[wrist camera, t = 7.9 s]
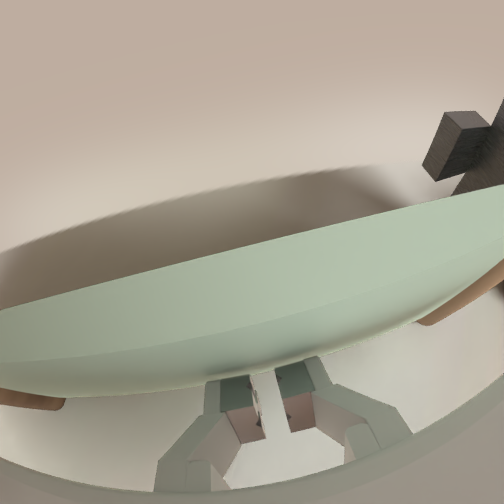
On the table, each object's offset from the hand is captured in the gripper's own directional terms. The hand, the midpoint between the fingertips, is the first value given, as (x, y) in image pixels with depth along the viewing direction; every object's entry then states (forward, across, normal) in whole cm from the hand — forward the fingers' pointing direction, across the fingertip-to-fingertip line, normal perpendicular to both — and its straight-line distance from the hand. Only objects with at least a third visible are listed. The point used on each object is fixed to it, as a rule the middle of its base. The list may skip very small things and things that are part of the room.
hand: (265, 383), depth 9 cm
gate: (+4, +1, +3) cm, 5 cm away
